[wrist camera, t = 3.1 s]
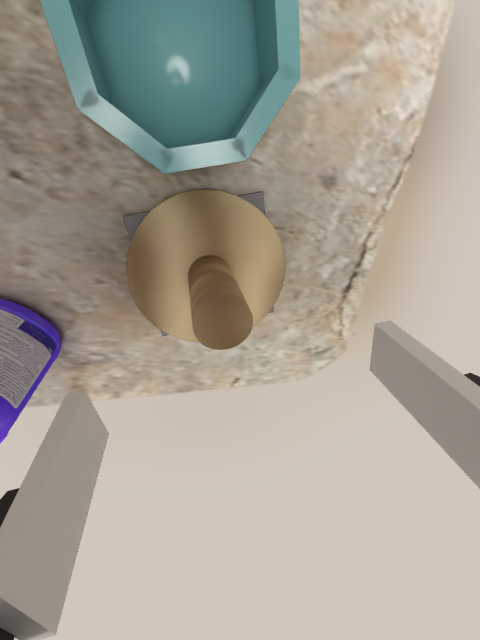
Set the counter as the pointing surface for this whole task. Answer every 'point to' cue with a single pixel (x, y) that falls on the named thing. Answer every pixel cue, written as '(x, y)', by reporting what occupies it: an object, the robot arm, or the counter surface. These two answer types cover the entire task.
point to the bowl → (179, 72)
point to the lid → (205, 267)
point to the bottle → (22, 358)
